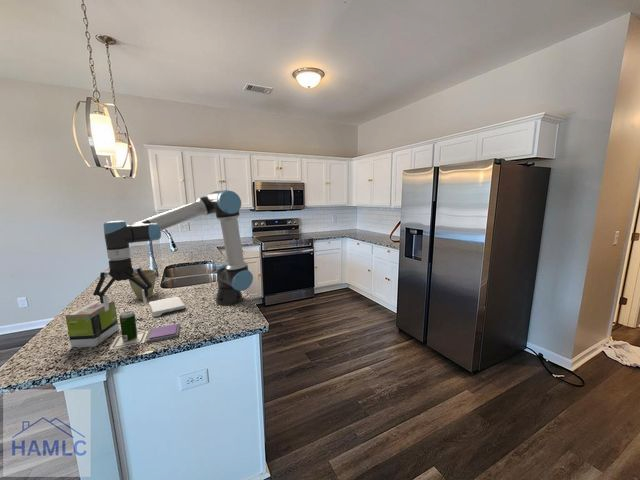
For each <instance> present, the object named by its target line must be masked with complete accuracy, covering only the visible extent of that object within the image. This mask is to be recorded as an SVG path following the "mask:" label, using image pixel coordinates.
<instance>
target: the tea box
mask: <svg viewBox="0 0 640 480" xmlns="http://www.w3.org/2000/svg"><path fill="white" fill-rule="evenodd" d="M108 304H109V310H108V311H105V308H104V303H101V301H100V300H99V301H91V302H88V303H87V304H85V305H83V306H81V307H80V308H76V309H75V310H73V311H72V312H70V313H67V314H65V320H66V327H67V332H68V336H69V342H70V343H69V344H70V347H71V348H72V347H77V348H93V347H94V348H95V347H97V346H99V344H100V343H102V342H104V341H105V340H107V339H108V338H109V337H110V336H112V335H114V333H116V332H118V331H119V330H120V327H119V322H118V315H117V309H116V302H115V300H108Z"/></svg>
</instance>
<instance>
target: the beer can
mask: <svg viewBox="0 0 640 480" xmlns="http://www.w3.org/2000/svg"><path fill="white" fill-rule="evenodd" d="M119 323H120V333H121V335H122V340H123V341H124V342H131V341H134V340H136V339H137V333H138V328H137V320H136V313H135V311H133V310H127V311H124V312H120V313H119Z"/></svg>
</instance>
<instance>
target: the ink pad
mask: <svg viewBox="0 0 640 480" xmlns="http://www.w3.org/2000/svg"><path fill="white" fill-rule="evenodd" d="M180 327H181V323H175V324H168V325H163V326H157V327H152V328H150V330H149V331H148V334H147V336H146V339H145V341H146V343H147V342H149V343H153V341H154V342H159V341H163V340H165V341H166V340H168V339H169V340H170V339H175V338H179V334H180V329H181V328H180ZM158 340H159V341H158ZM147 344H148V343H147Z"/></svg>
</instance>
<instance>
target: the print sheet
mask: <svg viewBox="0 0 640 480" xmlns="http://www.w3.org/2000/svg"><path fill="white" fill-rule="evenodd" d="M148 335H149V330H144V331H140V332H138V331H137V339H136V340H134V341H131V342H124V341H123V340H122V334H121V335H118V336H117V335H116V337H115V339H114V341H112V344H111V345H110V347H109V349H108V351H110V350H111V351H112V350H117V349H121V348H122V347H123V348H126V346H128V347H132V346H131V345H133V346H137V345H136V344H138V343H140V344H138V345H142V344H141V343H144V344H145V341H146V340H147V337H148Z"/></svg>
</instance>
